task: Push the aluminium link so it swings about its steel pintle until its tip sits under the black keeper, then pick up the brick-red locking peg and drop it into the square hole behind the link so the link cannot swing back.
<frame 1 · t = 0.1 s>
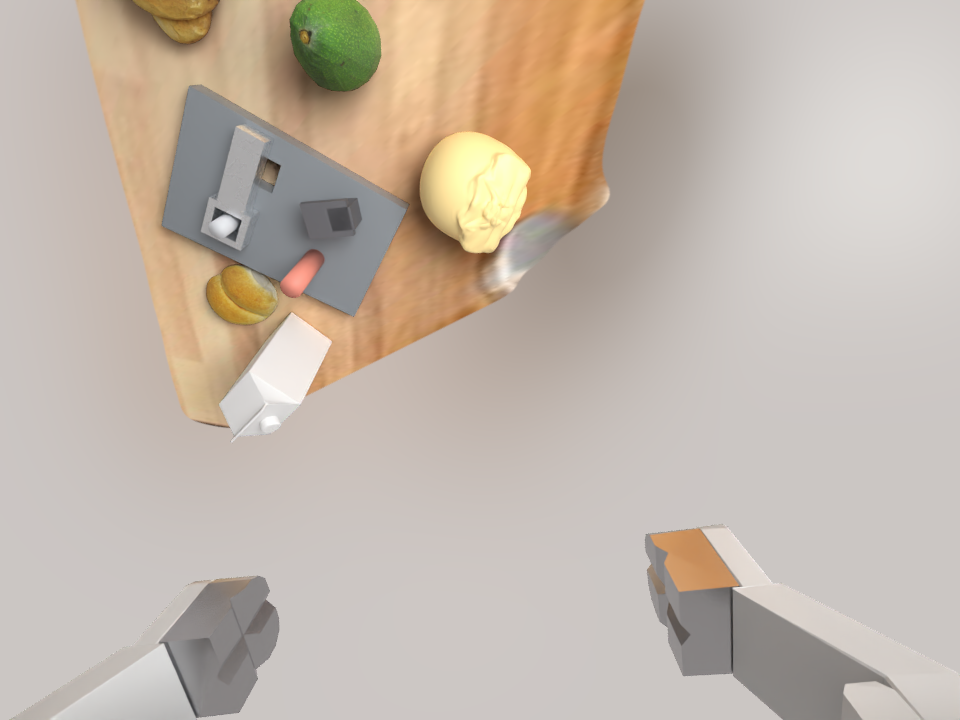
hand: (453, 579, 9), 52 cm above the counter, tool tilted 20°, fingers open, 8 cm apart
avocado: (349, 45, 47), on the counter
link: (239, 188, 51), point 4 cm above the counter, hinge at 0.0°
sculpture: (473, 180, 54), on the counter
board: (290, 212, 56), on the counter
milk carton: (300, 339, 67), on the counter
bread roll: (247, 290, 62), on the counter
peg: (315, 258, 57), point 2 cm above the counter, touching board
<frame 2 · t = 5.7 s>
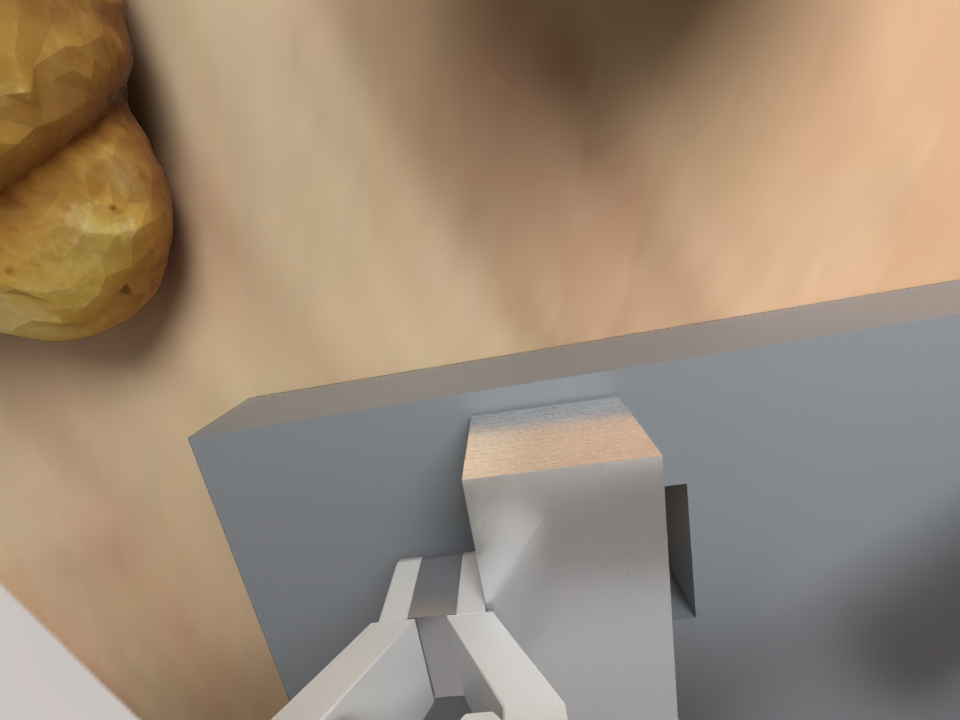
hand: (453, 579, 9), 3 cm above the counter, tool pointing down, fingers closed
link: (587, 712, 10), point 4 cm above the counter, hinge at 1.3°, touching gripper
bread roll 2: (5, 70, 10), on the counter
board: (732, 596, 13), on the counter
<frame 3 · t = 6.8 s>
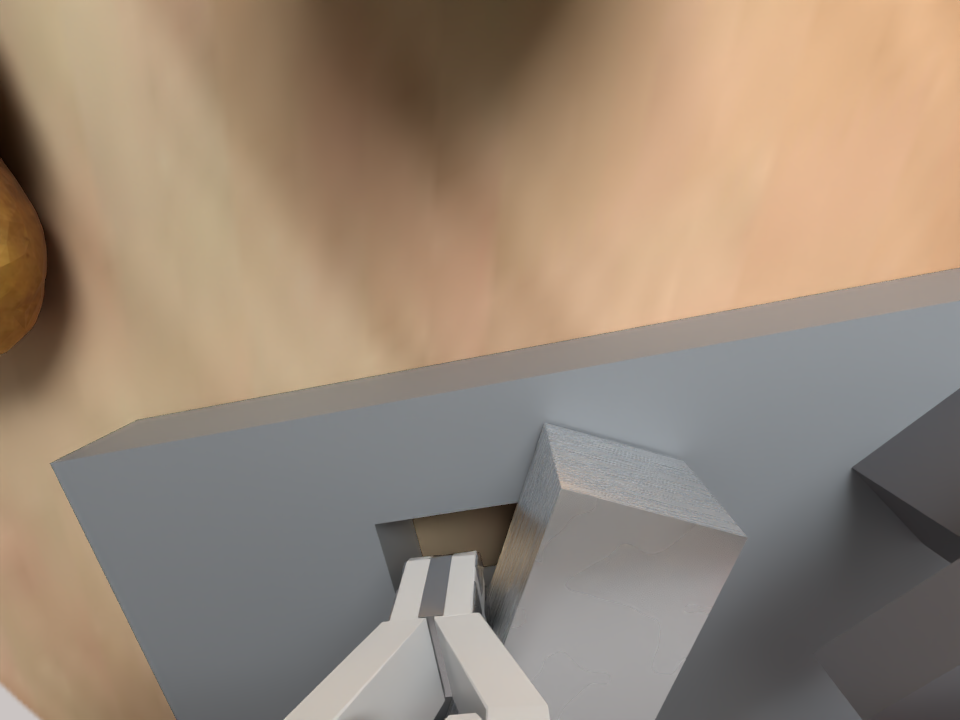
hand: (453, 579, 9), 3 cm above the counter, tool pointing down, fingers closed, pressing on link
board: (622, 607, 13), on the counter
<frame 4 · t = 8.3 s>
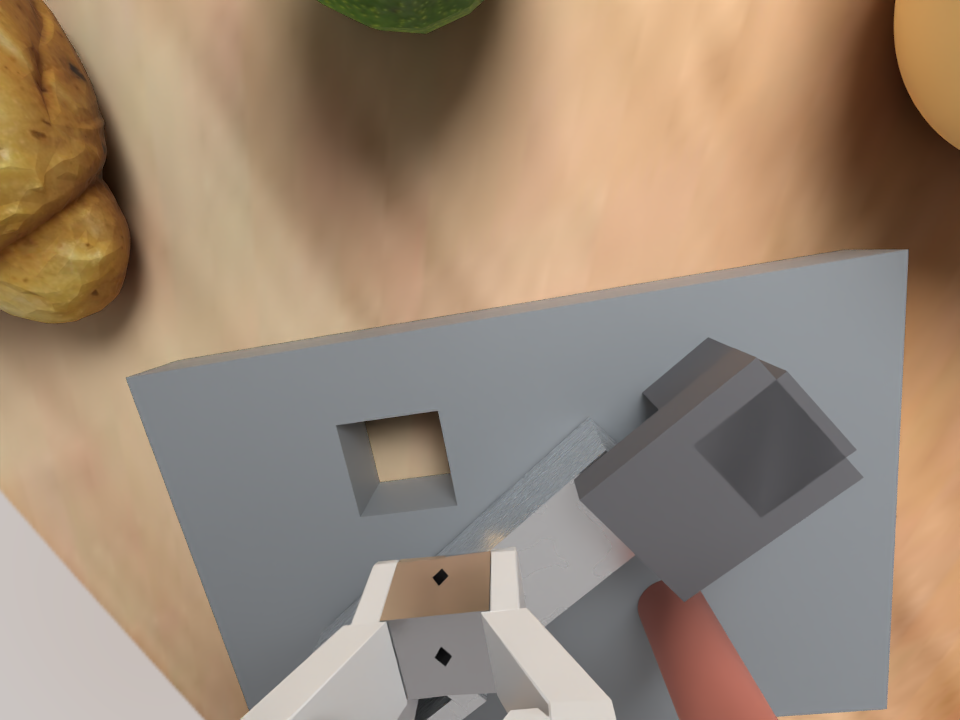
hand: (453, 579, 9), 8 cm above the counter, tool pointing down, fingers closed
link: (480, 592, 15), point 4 cm above the counter, hinge at 53.3°
bread roll 2: (30, 151, 16), on the counter
board: (520, 510, 18), on the counter
peg: (671, 606, 16), point 3 cm above the counter, touching board
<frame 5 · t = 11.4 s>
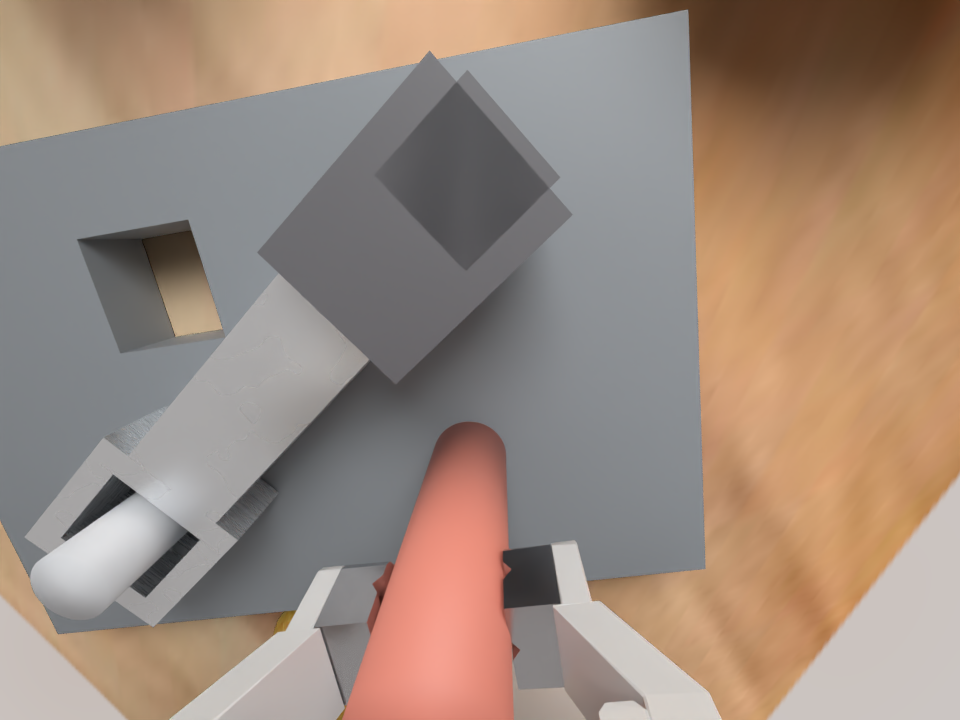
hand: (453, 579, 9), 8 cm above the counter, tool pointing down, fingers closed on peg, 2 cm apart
link: (239, 425, 13), point 4 cm above the counter, hinge at 53.3°
board: (331, 369, 17), on the counter
milk carton: (566, 705, 21), on the counter
bread roll: (367, 641, 21), on the counter
peg: (469, 455, 15), point 3 cm above the counter, touching board, gripper
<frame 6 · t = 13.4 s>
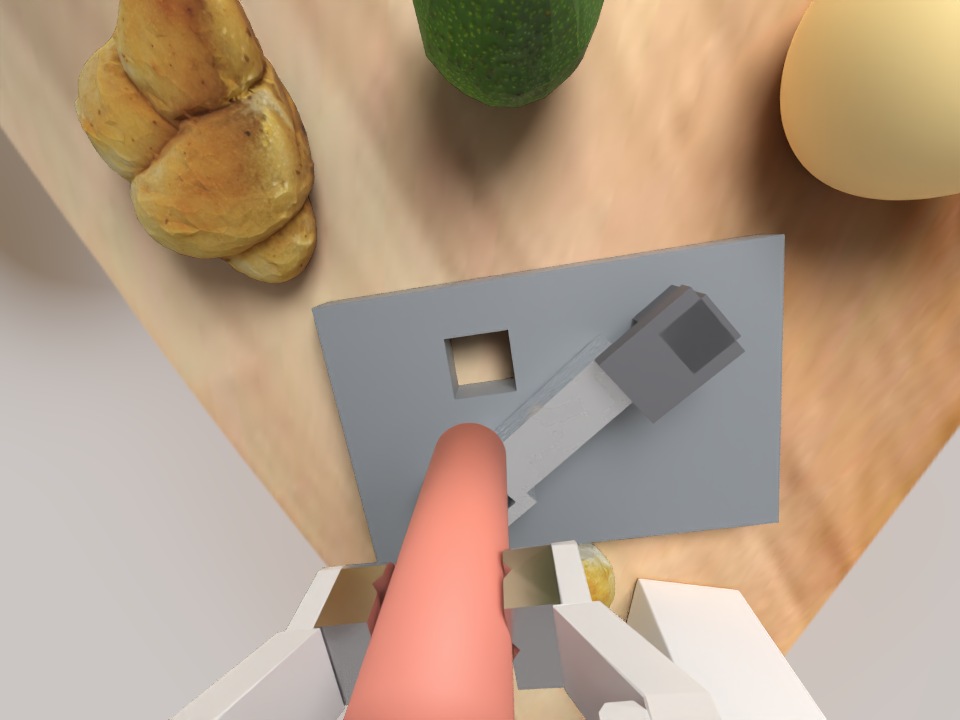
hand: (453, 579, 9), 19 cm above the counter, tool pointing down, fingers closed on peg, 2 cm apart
avocado: (506, 46, 23), on the counter
link: (532, 440, 24), point 4 cm above the counter, hinge at 53.3°
bread roll 2: (247, 170, 25), on the counter
sculpture: (864, 88, 23), on the counter
board: (551, 404, 28), on the counter
milk carton: (674, 619, 32), on the counter
bread roll: (547, 576, 32), on the counter
peg: (470, 456, 15), point 13 cm above the counter, touching gripper
when the fingers open (7 cm above the counter, at t = 15.6 s): peg drops 1 cm, resting in board.
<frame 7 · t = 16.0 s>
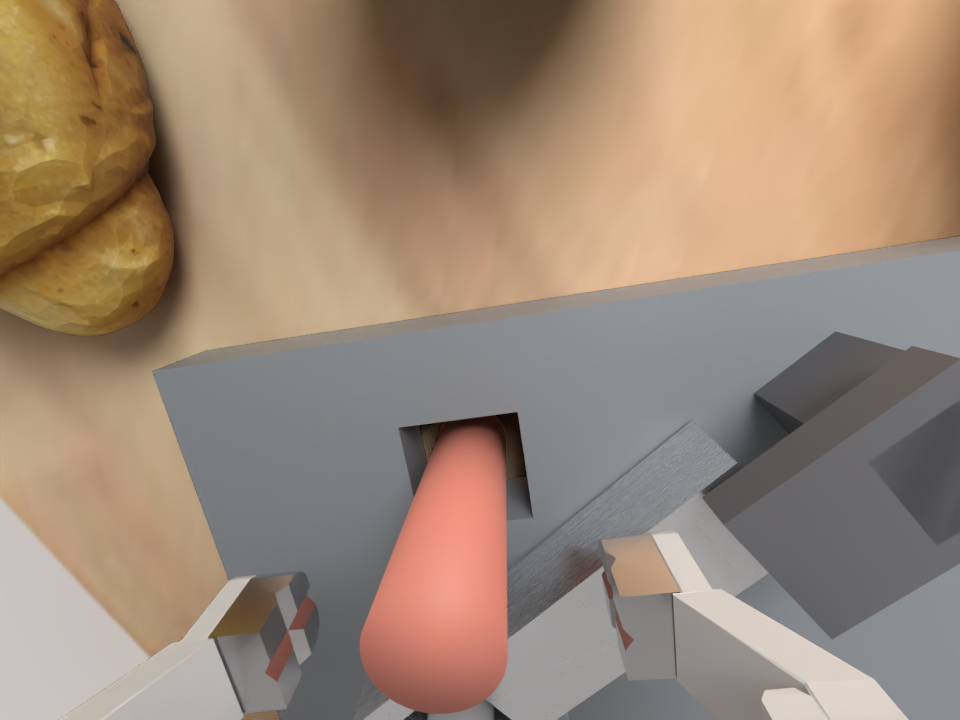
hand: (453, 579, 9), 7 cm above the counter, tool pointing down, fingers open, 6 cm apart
link: (563, 615, 13), point 4 cm above the counter, hinge at 53.3°
bread roll 2: (57, 129, 14), on the counter
board: (587, 519, 17), on the counter
peg: (472, 438, 16), resting in board
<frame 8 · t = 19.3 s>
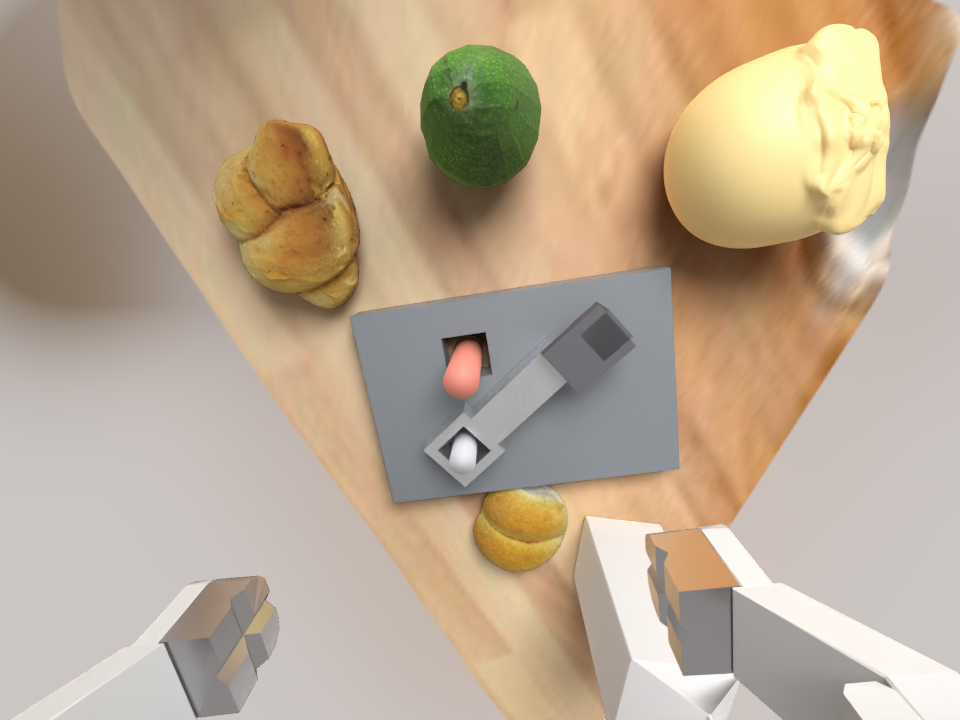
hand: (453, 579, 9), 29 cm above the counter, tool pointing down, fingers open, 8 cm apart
avocado: (483, 139, 34), on the counter
link: (502, 408, 35), point 4 cm above the counter, hinge at 53.3°
bread roll 2: (310, 228, 36), on the counter
sculpture: (726, 168, 34), on the counter
board: (518, 385, 39), on the counter
milk carton: (614, 548, 43), on the counter
bread roll: (519, 514, 43), on the counter
peg: (469, 349, 38), resting in board
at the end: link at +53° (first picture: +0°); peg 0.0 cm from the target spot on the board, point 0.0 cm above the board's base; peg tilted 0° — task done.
